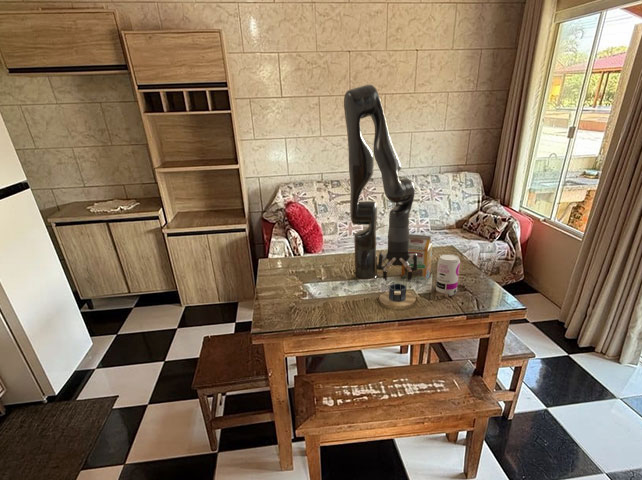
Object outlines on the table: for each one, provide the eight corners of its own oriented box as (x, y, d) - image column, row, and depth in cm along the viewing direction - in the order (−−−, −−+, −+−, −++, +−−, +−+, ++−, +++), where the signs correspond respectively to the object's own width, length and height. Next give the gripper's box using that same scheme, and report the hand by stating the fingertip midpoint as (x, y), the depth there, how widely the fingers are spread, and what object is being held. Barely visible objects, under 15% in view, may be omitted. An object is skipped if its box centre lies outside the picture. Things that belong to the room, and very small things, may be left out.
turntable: (391, 291, 167) (391, 288, 166) (421, 299, 159) (422, 296, 159) (372, 303, 158) (372, 300, 157) (403, 313, 150) (403, 309, 149)
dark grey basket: (389, 294, 161) (389, 283, 159) (405, 295, 160) (406, 283, 158) (388, 303, 154) (388, 292, 151) (405, 304, 153) (406, 292, 150)
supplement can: (457, 289, 166) (461, 254, 159) (455, 298, 160) (459, 261, 152) (437, 287, 169) (440, 252, 161) (434, 295, 162) (437, 259, 155)
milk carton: (401, 280, 177) (402, 237, 168) (406, 271, 185) (408, 230, 176) (425, 282, 173) (428, 239, 164) (430, 274, 182) (433, 232, 173)
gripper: (418, 235, 148) (416, 277, 156) (379, 235, 150) (378, 276, 158) (418, 241, 142) (416, 284, 149) (377, 241, 144) (377, 283, 152)
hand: (397, 280), depth 154 cm, fingers open, 8 cm apart
